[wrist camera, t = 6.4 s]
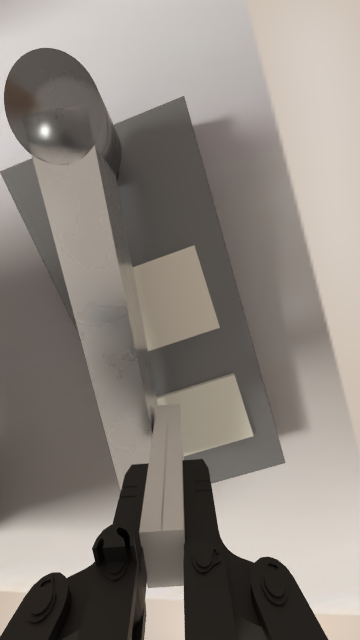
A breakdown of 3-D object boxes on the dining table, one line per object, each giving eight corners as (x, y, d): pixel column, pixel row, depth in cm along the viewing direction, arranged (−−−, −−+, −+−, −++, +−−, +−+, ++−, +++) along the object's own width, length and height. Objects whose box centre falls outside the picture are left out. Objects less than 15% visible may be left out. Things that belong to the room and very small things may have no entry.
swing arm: (132, 487, 16) (123, 535, 14) (41, 113, 11) (-11, 56, 8) (179, 481, 16) (180, 528, 13) (113, 102, 11) (89, 40, 8)
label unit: (160, 468, 23) (156, 525, 18) (31, 188, 16) (-34, 154, 11) (271, 436, 22) (298, 487, 17) (182, 127, 15) (185, 61, 10)
